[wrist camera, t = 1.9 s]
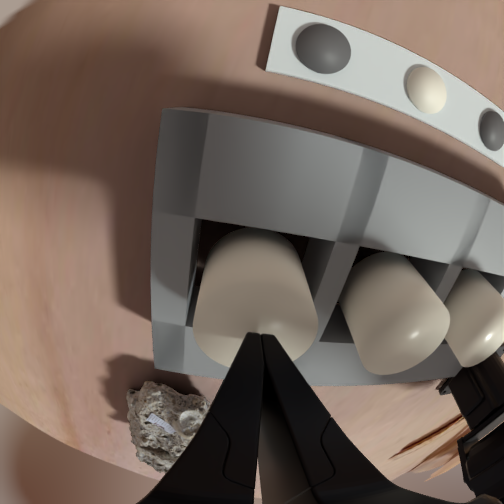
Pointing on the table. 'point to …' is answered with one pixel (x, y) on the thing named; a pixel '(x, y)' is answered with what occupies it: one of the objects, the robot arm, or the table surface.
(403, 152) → the table surface
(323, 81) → the card
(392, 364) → the button middle
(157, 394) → the mineral specimen
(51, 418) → the table surface
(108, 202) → the table surface
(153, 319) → the button board
